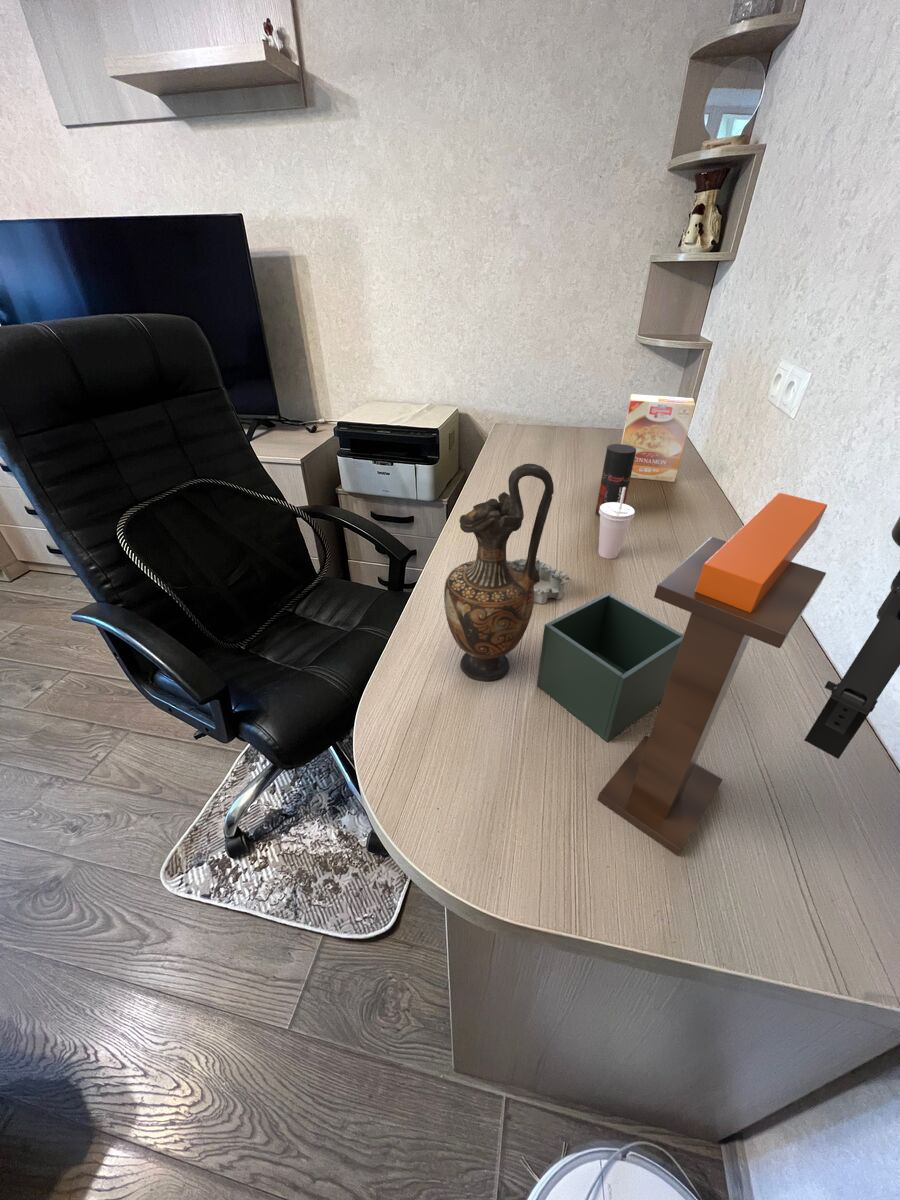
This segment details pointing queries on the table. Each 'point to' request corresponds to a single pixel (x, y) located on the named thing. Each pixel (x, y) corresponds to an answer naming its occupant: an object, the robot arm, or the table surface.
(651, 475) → the coffeecake box
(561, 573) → the egg carton
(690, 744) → the stand
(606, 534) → the smoothie
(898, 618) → the robot arm
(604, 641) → the trash bin
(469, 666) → the vase
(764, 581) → the block
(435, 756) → the table surface
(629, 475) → the deodorant
